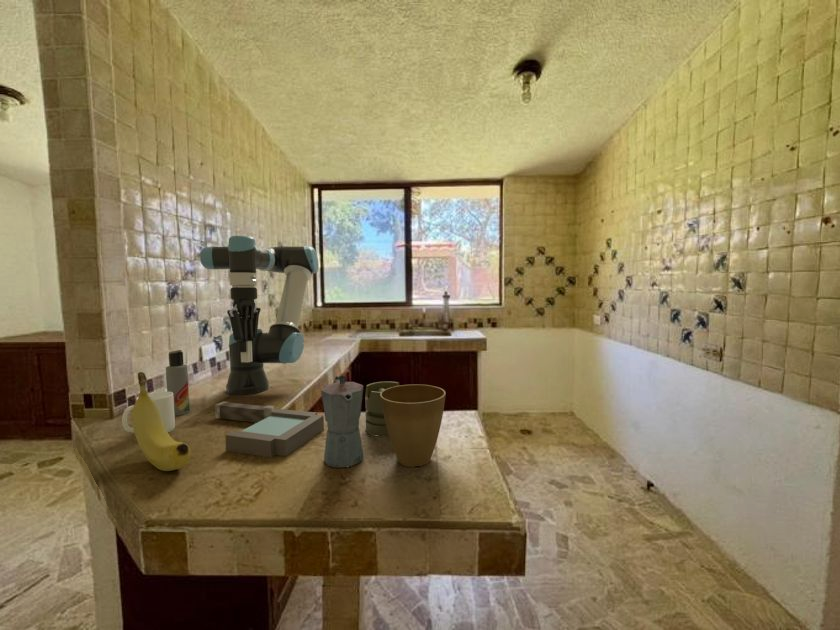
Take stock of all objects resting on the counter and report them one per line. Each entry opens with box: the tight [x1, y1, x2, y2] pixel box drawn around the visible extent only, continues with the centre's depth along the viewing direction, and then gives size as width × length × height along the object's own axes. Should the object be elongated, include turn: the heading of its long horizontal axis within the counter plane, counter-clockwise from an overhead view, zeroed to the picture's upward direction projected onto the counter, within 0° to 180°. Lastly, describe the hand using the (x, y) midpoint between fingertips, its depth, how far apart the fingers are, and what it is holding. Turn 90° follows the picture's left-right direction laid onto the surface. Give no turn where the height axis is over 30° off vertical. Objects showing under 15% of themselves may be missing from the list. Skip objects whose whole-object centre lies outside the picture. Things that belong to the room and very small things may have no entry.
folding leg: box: [214, 401, 275, 424], centre depth 111 cm, size 19×3×4 cm, turn 74°
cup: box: [121, 391, 176, 434], centre depth 101 cm, size 8×12×10 cm
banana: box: [131, 371, 191, 472], centre depth 83 cm, size 23×6×20 cm, turn 55°
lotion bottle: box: [165, 349, 190, 417], centre depth 117 cm, size 6×6×20 cm
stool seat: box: [224, 408, 325, 458], centre depth 98 cm, size 20×16×4 cm
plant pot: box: [380, 383, 446, 468], centre depth 85 cm, size 15×15×16 cm
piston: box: [364, 381, 400, 437], centre depth 104 cm, size 11×12×11 cm
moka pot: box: [320, 375, 364, 468], centre depth 85 cm, size 10×15×20 cm, turn 27°
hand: (246, 361), depth 116 cm, fingers closed
